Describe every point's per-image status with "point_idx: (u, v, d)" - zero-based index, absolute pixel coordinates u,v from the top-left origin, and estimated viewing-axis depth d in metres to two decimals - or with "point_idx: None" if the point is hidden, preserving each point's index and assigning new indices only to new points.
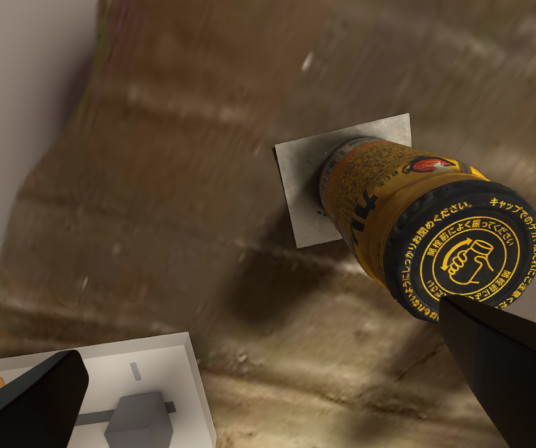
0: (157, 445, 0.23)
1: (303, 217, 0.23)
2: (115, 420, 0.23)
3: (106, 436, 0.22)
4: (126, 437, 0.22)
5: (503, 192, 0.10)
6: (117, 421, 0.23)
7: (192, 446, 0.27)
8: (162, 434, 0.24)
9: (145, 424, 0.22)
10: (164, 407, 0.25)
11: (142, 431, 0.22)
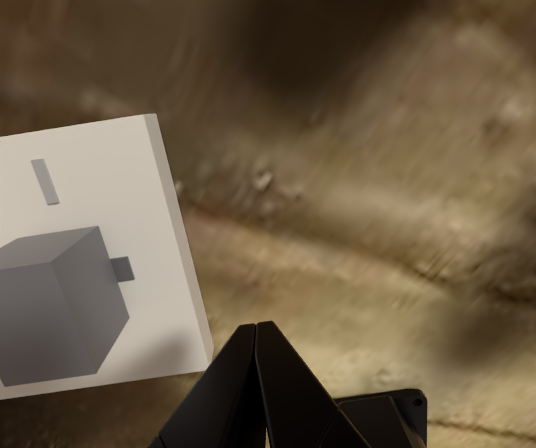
0: (82, 317, 0.10)
1: None
2: None
3: None
4: (1, 289, 0.10)
5: None
6: None
7: (168, 356, 0.15)
8: (97, 305, 0.11)
9: (48, 258, 0.10)
10: (107, 261, 0.12)
11: (38, 271, 0.09)
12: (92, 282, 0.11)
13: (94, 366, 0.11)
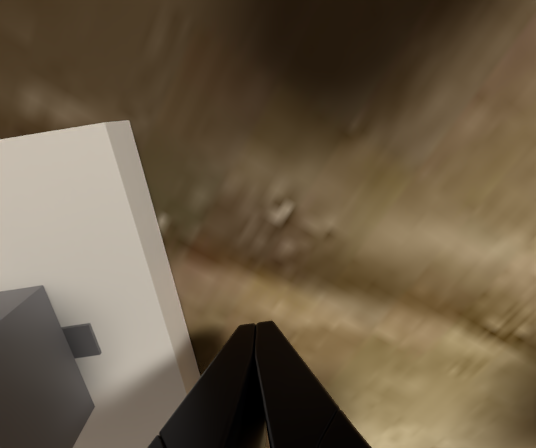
0: (2, 447, 0.07)
1: None
2: None
3: None
4: None
5: None
6: None
7: None
8: (35, 412, 0.07)
9: None
10: (58, 335, 0.09)
11: None
12: (26, 379, 0.07)
13: None
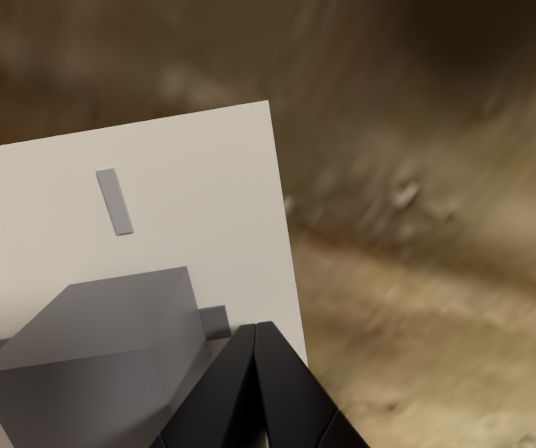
0: None
1: None
2: (32, 334, 0.06)
3: None
4: (63, 390, 0.06)
5: None
6: (38, 336, 0.06)
7: None
8: None
9: (140, 338, 0.06)
10: (197, 316, 0.09)
11: (128, 362, 0.06)
12: (188, 357, 0.07)
13: None
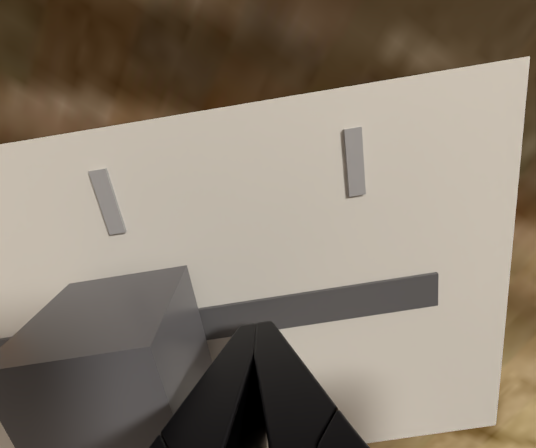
0: None
1: None
2: (33, 333, 0.06)
3: None
4: (64, 389, 0.06)
5: None
6: (38, 335, 0.06)
7: (447, 407, 0.11)
8: None
9: (140, 337, 0.06)
10: (197, 316, 0.09)
11: (129, 362, 0.06)
12: (189, 356, 0.07)
13: None
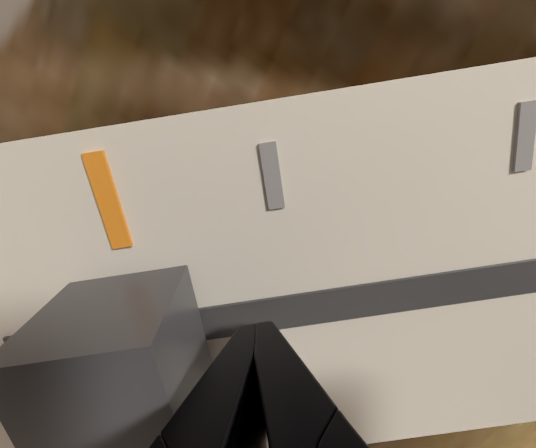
0: None
1: None
2: (33, 332, 0.06)
3: None
4: (63, 388, 0.06)
5: None
6: (38, 334, 0.06)
7: None
8: None
9: (141, 337, 0.06)
10: (197, 316, 0.09)
11: (128, 362, 0.06)
12: (189, 356, 0.07)
13: None
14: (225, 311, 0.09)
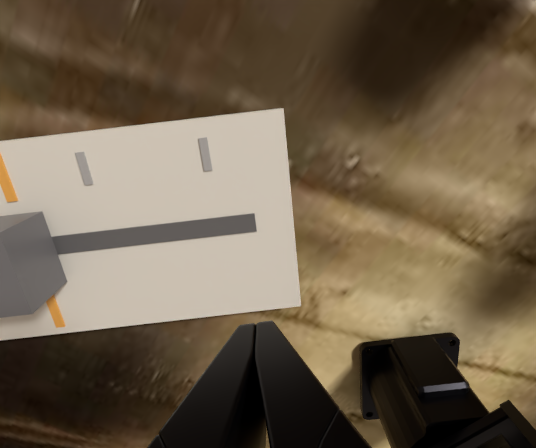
0: (23, 273, 0.15)
1: None
2: None
3: None
4: None
5: None
6: None
7: (271, 293, 0.19)
8: (37, 267, 0.16)
9: None
10: (48, 237, 0.17)
11: None
12: (33, 251, 0.16)
13: (31, 308, 0.15)
14: (69, 238, 0.18)
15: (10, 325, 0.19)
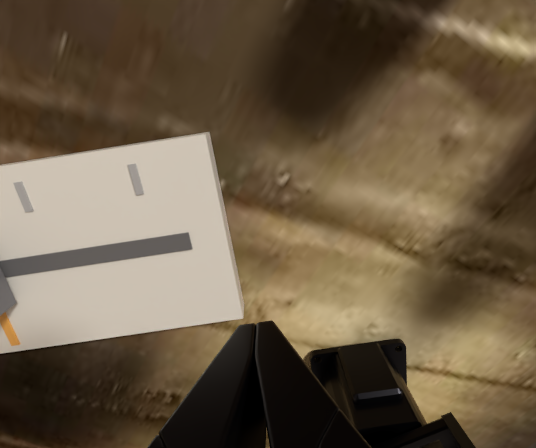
0: None
1: None
2: None
3: None
4: None
5: None
6: None
7: (213, 307, 0.20)
8: None
9: None
10: None
11: None
12: None
13: None
14: (15, 262, 0.19)
15: None
